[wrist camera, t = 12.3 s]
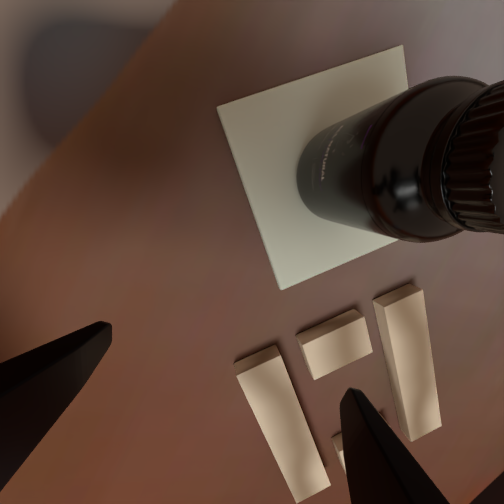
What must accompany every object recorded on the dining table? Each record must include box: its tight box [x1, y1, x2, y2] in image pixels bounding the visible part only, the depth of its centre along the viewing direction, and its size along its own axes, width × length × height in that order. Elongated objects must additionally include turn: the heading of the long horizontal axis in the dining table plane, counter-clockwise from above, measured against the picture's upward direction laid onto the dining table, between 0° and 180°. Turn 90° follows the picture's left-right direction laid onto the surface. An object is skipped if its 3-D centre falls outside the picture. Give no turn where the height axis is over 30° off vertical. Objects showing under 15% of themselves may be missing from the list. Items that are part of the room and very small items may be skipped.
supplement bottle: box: [296, 76, 504, 243], centre depth 12 cm, size 7×7×12 cm
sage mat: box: [217, 45, 408, 290], centre depth 18 cm, size 14×14×1 cm
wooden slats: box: [234, 284, 441, 503], centre depth 24 cm, size 18×18×2 cm
